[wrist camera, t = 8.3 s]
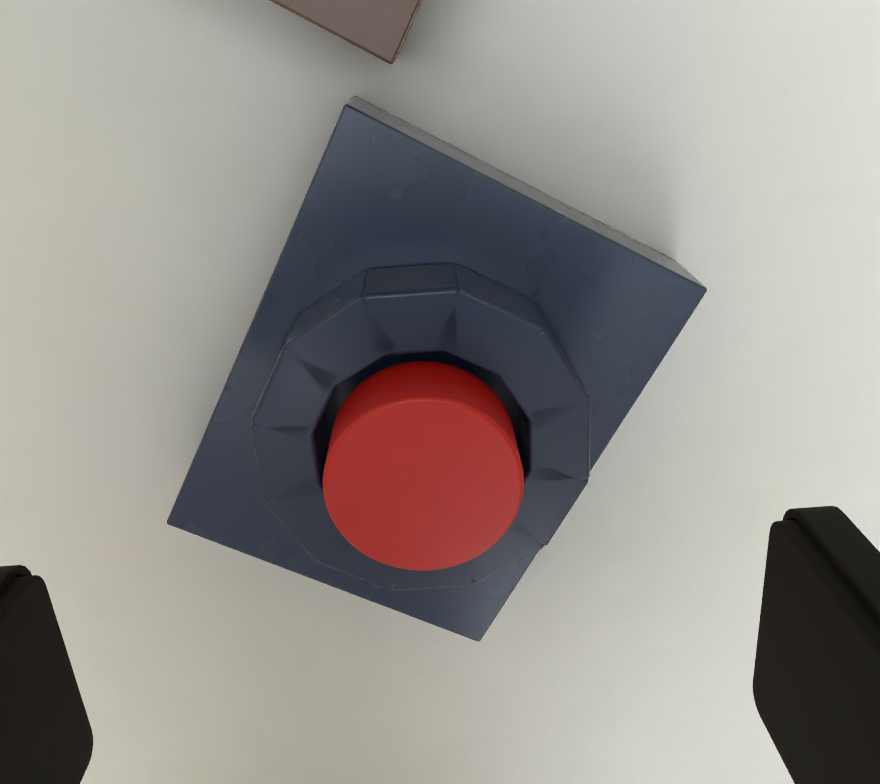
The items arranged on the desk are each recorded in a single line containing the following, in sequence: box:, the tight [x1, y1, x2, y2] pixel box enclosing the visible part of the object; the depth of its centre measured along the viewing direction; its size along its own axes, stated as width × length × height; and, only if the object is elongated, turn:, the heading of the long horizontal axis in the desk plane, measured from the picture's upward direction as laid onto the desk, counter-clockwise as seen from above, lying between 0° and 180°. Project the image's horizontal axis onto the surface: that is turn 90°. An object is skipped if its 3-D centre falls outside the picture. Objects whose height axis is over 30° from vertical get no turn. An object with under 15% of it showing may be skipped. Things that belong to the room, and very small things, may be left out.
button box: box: [167, 96, 707, 641], centre depth 18 cm, size 10×8×4 cm
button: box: [323, 361, 524, 571], centre depth 15 cm, size 4×4×2 cm
